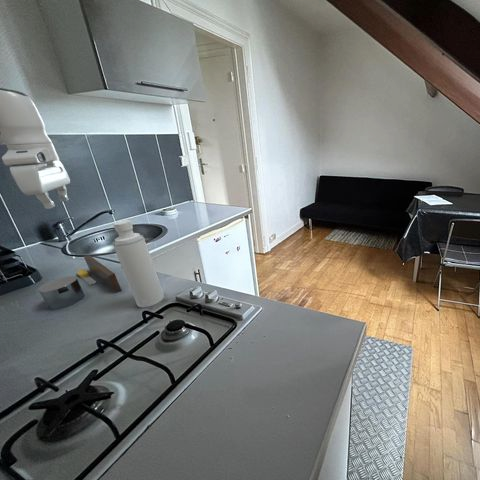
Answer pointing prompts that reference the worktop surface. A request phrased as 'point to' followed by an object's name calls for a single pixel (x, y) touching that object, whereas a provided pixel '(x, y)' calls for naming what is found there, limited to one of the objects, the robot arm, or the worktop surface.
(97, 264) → the backboard
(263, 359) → the worktop surface
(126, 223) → the white bottle
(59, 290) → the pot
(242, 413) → the worktop surface
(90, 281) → the knife
